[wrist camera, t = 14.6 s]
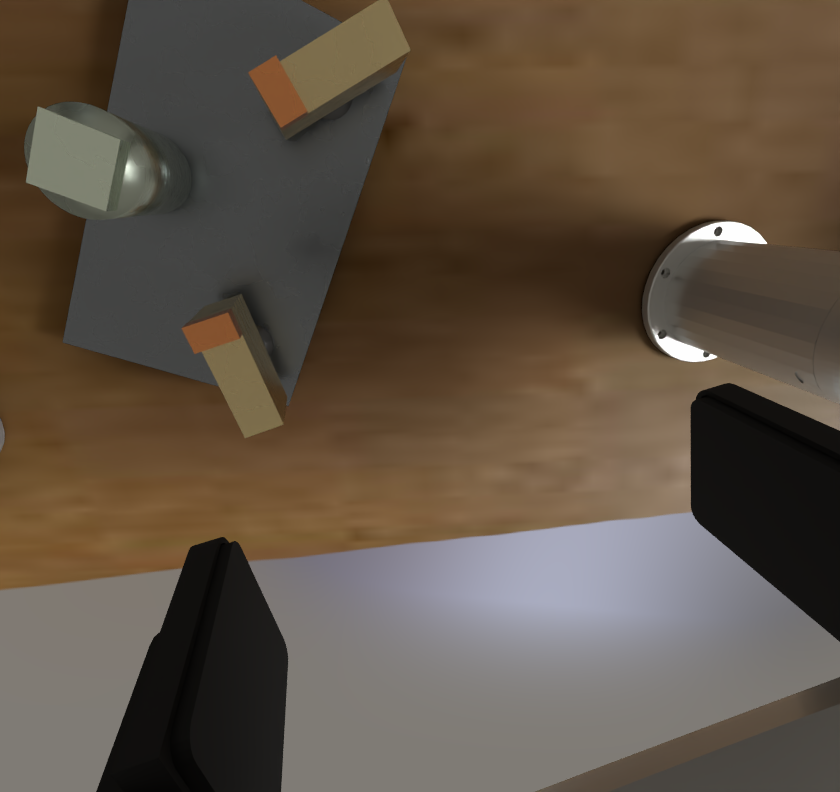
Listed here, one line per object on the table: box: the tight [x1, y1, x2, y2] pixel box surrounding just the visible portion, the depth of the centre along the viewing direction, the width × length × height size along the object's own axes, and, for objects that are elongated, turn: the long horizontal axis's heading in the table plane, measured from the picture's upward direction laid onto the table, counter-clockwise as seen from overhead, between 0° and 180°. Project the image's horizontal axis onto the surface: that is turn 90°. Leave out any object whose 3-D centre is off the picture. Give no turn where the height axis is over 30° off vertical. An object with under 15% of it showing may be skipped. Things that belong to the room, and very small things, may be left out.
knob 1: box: [182, 294, 287, 438], centre depth 33 cm, size 8×3×8 cm, turn 17°
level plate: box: [24, 0, 406, 406], centre depth 30 cm, size 16×26×13 cm, turn 158°
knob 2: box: [248, 0, 411, 140], centre depth 29 cm, size 8×3×8 cm, turn 119°
